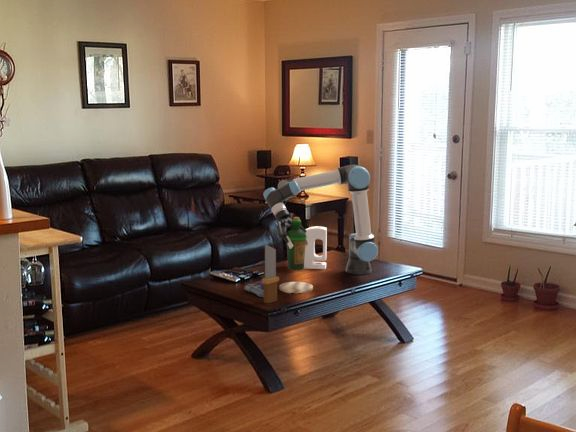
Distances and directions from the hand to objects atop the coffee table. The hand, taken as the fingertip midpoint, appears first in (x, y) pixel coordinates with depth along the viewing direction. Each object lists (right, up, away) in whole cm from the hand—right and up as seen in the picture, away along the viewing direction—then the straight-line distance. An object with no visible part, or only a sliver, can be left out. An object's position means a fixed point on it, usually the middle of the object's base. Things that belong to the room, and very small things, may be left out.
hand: (299, 245), depth 349 cm
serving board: (-2, -23, +6) cm, 24 cm away
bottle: (-2, -13, +4) cm, 14 cm away
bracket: (+7, -16, +53) cm, 55 cm away
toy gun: (-20, -25, +1) cm, 32 cm away
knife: (-15, -28, -16) cm, 35 cm away
